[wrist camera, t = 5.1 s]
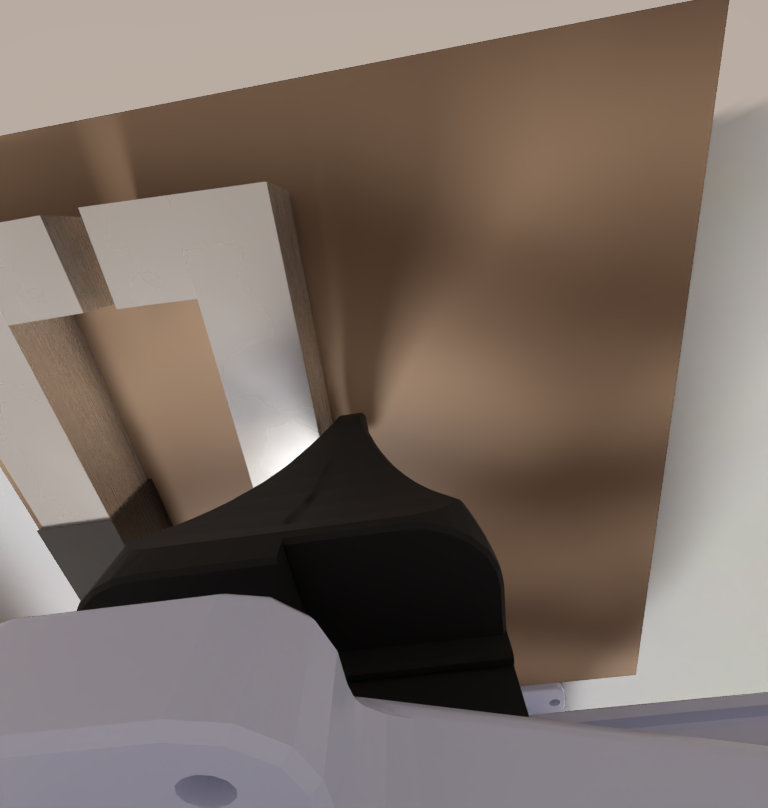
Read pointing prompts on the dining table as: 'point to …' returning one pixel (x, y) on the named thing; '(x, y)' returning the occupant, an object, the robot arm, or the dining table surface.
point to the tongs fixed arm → (65, 403)
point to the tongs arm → (229, 302)
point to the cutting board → (447, 289)
